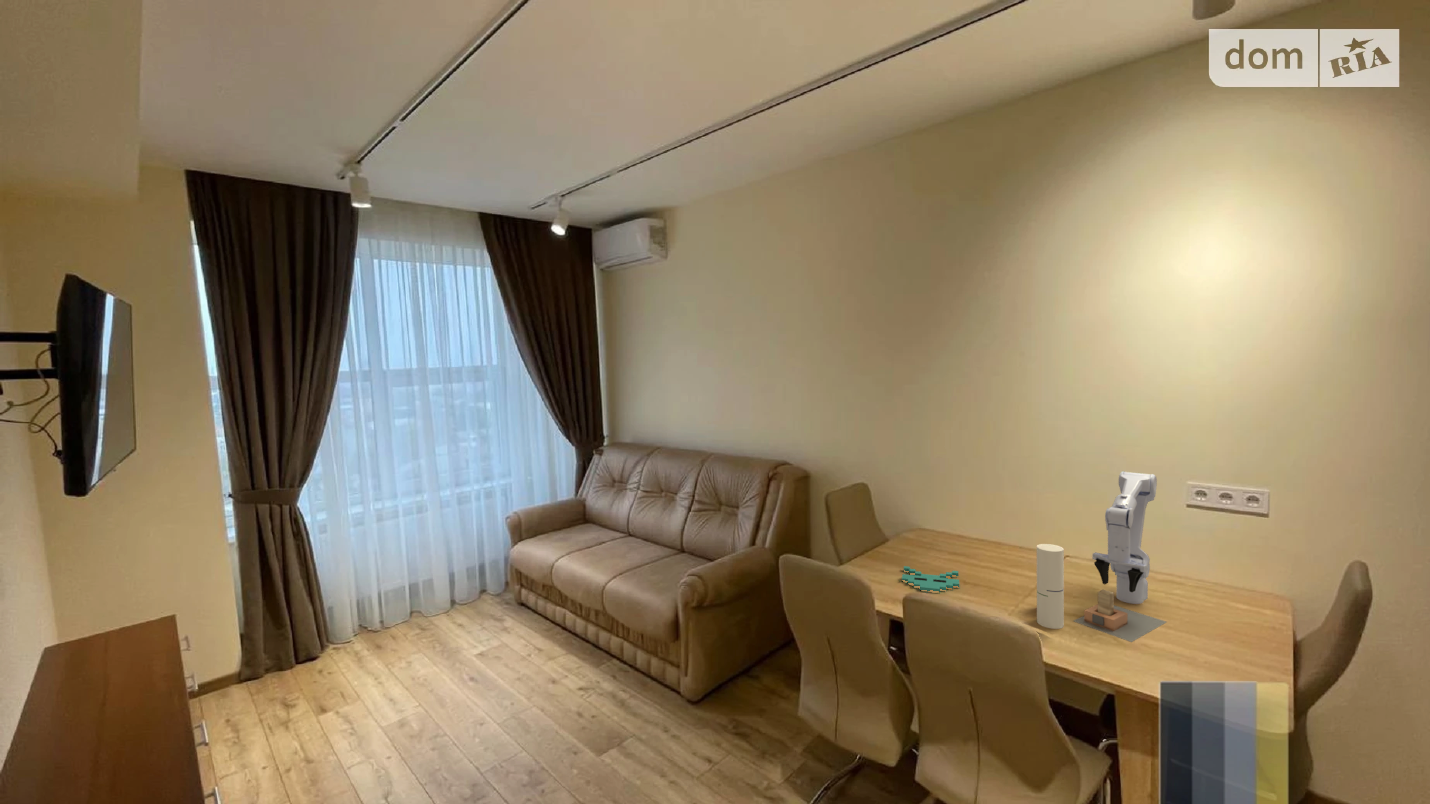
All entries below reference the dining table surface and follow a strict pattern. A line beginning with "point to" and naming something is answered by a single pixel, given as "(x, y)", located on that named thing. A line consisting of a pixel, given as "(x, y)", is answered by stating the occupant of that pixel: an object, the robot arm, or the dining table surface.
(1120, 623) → the terracotta square frame
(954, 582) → the alien figure
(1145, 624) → the slate board
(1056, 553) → the cylindrical container
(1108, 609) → the tan rectangular block
